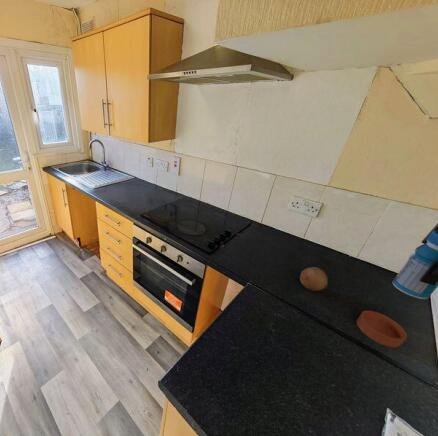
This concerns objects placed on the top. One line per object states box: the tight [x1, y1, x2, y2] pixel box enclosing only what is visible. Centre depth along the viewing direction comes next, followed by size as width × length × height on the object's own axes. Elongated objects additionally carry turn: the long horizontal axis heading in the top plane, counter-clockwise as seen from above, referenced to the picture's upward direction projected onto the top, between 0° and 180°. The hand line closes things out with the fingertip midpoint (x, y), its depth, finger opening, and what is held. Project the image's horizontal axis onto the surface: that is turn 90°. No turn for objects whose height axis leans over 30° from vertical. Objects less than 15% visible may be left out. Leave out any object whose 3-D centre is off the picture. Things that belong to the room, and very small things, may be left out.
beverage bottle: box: [392, 230, 438, 300], centre depth 67 cm, size 8×8×20 cm
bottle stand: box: [356, 310, 408, 348], centre depth 79 cm, size 12×12×4 cm
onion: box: [299, 266, 329, 292], centre depth 96 cm, size 10×10×10 cm
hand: (421, 274), depth 68 cm, fingers closed on beverage bottle, 8 cm apart
